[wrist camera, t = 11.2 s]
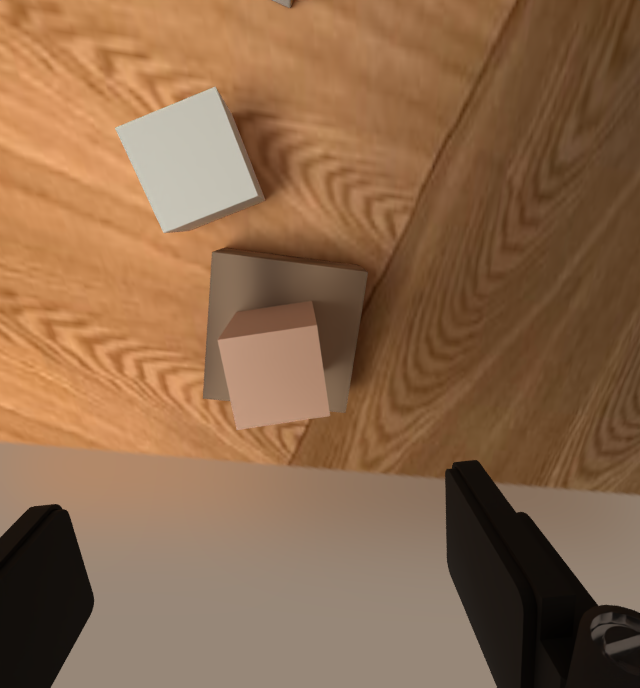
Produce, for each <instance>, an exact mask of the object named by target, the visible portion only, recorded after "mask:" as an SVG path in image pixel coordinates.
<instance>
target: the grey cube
mask: <svg viewBox="0 0 640 688" xmlns="http://www.w3.org/2000/svg"><path fill="white" fill-rule="evenodd" d="M115 129H116V131H117V133H118V135H119V137H120V140H121V142H122V144H123V146H124V148H125V150H126V153H127V155H128V157H129V159H130V161H131V163H132V166H133V168H134V170H135V172H136V174H137V176H138V178H139V181H140V183H141V185H142V187H143V189H144V191H145V194H146V196H147V198H148V200H149V202H150V204H151V207H152V209H153V211H154V213H155V215H156V217H157V219H158V222H159V224H160V226H161V228H162V230H163V232H164V233H170V232H183V231H190V230H193V229H195V228H198V227H200V226H203V225H205V224H208V223H210V222H213V221H215V220H218V219H220V218H223V217H226V216H228V215H231V214H233V213H236V212H238V211H241V210H243V209H246V208H248V207H251V206H253V205H256V204H259V203H261V202H264V201H266V200H265V198H264V195H263V193H262V190H261V188H260V185H259V182H258V180H257V177H256V175H255V172H254V169H253V167H252V164H251V162H250V159H249V157H248V154H247V151H246V149H245V146H244V144H243V141H242V139H241V136H240V133H239V131H238V128H237V126H236V123H235V121H234V118H233V115H232V113H231V111H230V110H229V108H228V106H227V105H226V103H225V102H224V100H223V98H222V97H221V95H220V93H219V92H218V90H217V89H216V87H213V88H211V89H208V90H206V91H203V92H201V93H199V94H196V95H194V96H191V97H189V98H186V99H184V100H182V101H179V102H177V103H174V104H172V105H169V106H167V107H164V108H162V109H160V110H157V111H155V112H152V113H150V114H147V115H145V116H143V117H140V118H138V119H135V120H133V121H130V122H128V123H126V124H123V125H121V126H118V127H116V128H115Z"/></svg>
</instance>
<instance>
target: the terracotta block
mask: <svg viewBox="0 0 640 688" xmlns="http://www.w3.org/2000/svg"><path fill="white" fill-rule="evenodd" d="M218 345H219V349H220V354H221V359H222V363H223V368H224V373H225V377H226V382H227V387H228V391H229V396H230V401H231V405H232V410H233V415H234V419H235V424H236V429H237V430H240V429H247V428H253V427H260V426H267V425H273V424H280V423H286V422H293V421H299V420H306V419H313V418H319V417H326V416H330V411H329V404H328V397H327V391H326V384H325V377H324V370H323V363H322V356H321V349H320V343H319V336H318V329H317V323H316V318H315V313H314V308H313V304H312V301H307V302H300V303H294V304H287V305H280V306H273V307H267V308H260V309H253V310H246V311H240V312H236V313H235V315H234V316H233V318H232V319H231V321H230V322H229V324H228V325H227V327H226V328H225V330H224V331H223V332H222V334H221V335H220V337H219V338H218Z"/></svg>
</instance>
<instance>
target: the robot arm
mask: <svg viewBox="0 0 640 688" xmlns="http://www.w3.org/2000/svg"><path fill="white" fill-rule="evenodd" d="M445 484H446V536H447V563H448V568H449V572H450V575H451V577H452V580H453V582H454V585H455V587H456V590H457V592H458V594H459V597H460V599H461V601H462V604H463V606H464V609H465V611H466V614H467V616H468V618H469V621H470V623H471V626H472V628H473V630H474V633H475V635H476V638H477V640H478V642H479V645H480V647H481V650H482V652H483V654H484V657H485V659H486V661H487V664H488V666H489V669H490V671H491V674H492V676H493V678H494V681H495V683H496V685H497V688H640V613H639V612H637V611H635V610H631V609H628V608H624V607H621V606H613V605H601V606H598V605H597V604H596V602H595V601H594V600H593V598H592V597H591V596H590V594H589V593H588V592H587V590H586V589H585V588H584V587H583V585H582V584H581V583H580V581H579V580H578V579H577V577H576V576H575V575H574V574H573V572H572V571H571V570H570V568H569V567H568V566H567V564H566V563H565V562H564V561H563V559H562V558H561V557H560V555H559V554H558V553H557V551H556V550H555V549H554V548H553V546H552V545H551V544H550V542H549V541H548V540H547V538H546V537H545V536H544V535H543V533H542V532H541V531H540V529H539V528H538V527H537V526H536V524H535V523H534V522H533V520H532V519H531V518H530V517H529V516H528V515H527V514H526V513H524V512H518V513H516V512H515V511H514V509H513V508H512V506H511V505H510V504H509V502H508V501H507V500H506V499H505V497H504V496H503V494H502V493H501V492H500V490H499V489H498V487H497V486H496V485H495V483H494V482H493V480H492V479H491V478H490V476H489V475H488V474H487V472H486V471H485V470H484V468H483V467H482V465H481V464H480V463H479V462H478V461H477V460H472V461H462V462H454V463H453V465H452V469H447V470H446V472H445ZM93 605H94V596H93V592H92V589H91V585H90V582H89V579H88V575H87V572H86V569H85V566H84V562H83V559H82V555H81V552H80V549H79V545H78V542H77V539H76V536H75V532H74V529H73V525H72V522H71V519H70V516H69V513H68V511H67V510H64V509H62V508H61V506H60V505H57V504H52V505H43V506H34V507H30V508H29V509H28V510H27V511H26V512H25V513H24V514H23V515H22V516H21V517H20V518H19V519H18V520H17V521H16V522H15V523H14V524H13V525H12V526H11V527H10V528H9V529H8V530H7V531H6V532H5V533H4V534H3V536H1V537H0V688H51V686H52V684H53V682H54V680H55V679H56V677H57V675H58V673H59V671H60V669H61V667H62V666H63V664H64V662H65V660H66V658H67V657H68V655H69V653H70V651H71V649H72V648H73V646H74V644H75V642H76V640H77V638H78V637H79V635H80V633H81V631H82V629H83V627H84V626H85V624H86V622H87V620H88V618H89V617H90V615H91V612H92V609H93Z"/></svg>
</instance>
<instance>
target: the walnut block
mask: <svg viewBox="0 0 640 688" xmlns="http://www.w3.org/2000/svg"><path fill="white" fill-rule="evenodd" d="M367 276H368V272H367V271H366V270H365V269H363V268H362V267H360V266H359V265H353V264H346V263H338V262H330V261H322V260H315V259H307V258H299V257H292V256H284V255H276V254H269V253H261V252H253V251H246V250H238V249H230V248H222V249H219V250H216V251H213V252H212V262H211V278H210V294H209V310H208V326H207V341H206V357H205V373H204V389H203V398H204V399H214V400H224V401H230V396H229V391H228V387H227V382H226V377H225V373H224V368H223V363H222V359H221V354H220V349H219V345H218V338H219V337H220V335H221V334H222V332H223V331H224V330H225V328H226V327H227V325H228V324H229V322H230V321H231V319H232V318H233V316H234V315H235V313H236V312H240V311H246V310H253V309H260V308H267V307H273V306H280V305H287V304H294V303H300V302H307V301H312V304H313V308H314V313H315V318H316V323H317V329H318V336H319V343H320V349H321V356H322V363H323V370H324V377H325V384H326V391H327V397H328V404H329V411H332V412H341V413H346V407H347V400H348V394H349V388H350V382H351V375H352V369H353V363H354V357H355V350H356V344H357V338H358V332H359V325H360V319H361V313H362V307H363V301H364V294H365V288H366V282H367Z"/></svg>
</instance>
